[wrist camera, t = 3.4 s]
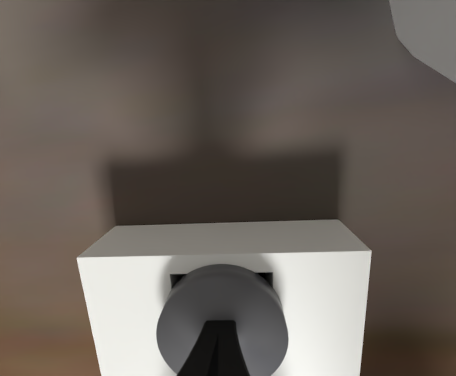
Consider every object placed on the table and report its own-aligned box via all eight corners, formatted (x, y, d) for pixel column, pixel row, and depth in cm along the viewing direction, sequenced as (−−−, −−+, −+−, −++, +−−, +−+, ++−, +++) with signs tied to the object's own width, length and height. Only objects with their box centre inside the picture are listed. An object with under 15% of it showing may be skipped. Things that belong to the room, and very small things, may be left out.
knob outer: (273, 311, 17) (288, 391, 12) (185, 312, 18) (163, 391, 12) (272, 229, 16) (289, 279, 11) (177, 232, 16) (148, 282, 11)
